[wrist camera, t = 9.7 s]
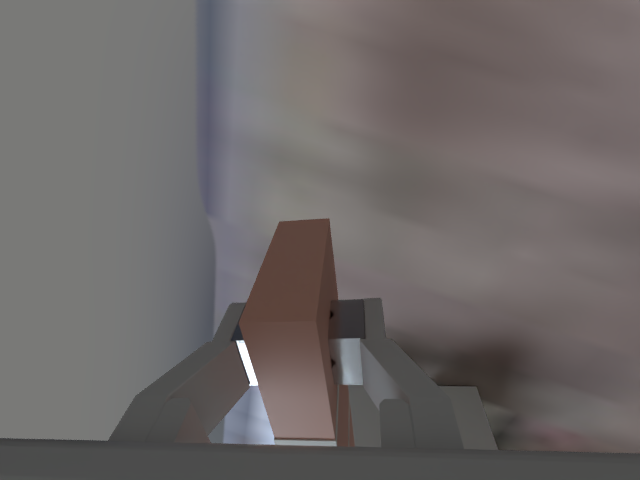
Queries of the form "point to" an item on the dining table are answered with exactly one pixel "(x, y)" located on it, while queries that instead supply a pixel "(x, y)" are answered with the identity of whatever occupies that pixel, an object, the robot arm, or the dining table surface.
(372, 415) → the dispenser
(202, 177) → the dining table surface
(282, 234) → the brown block
